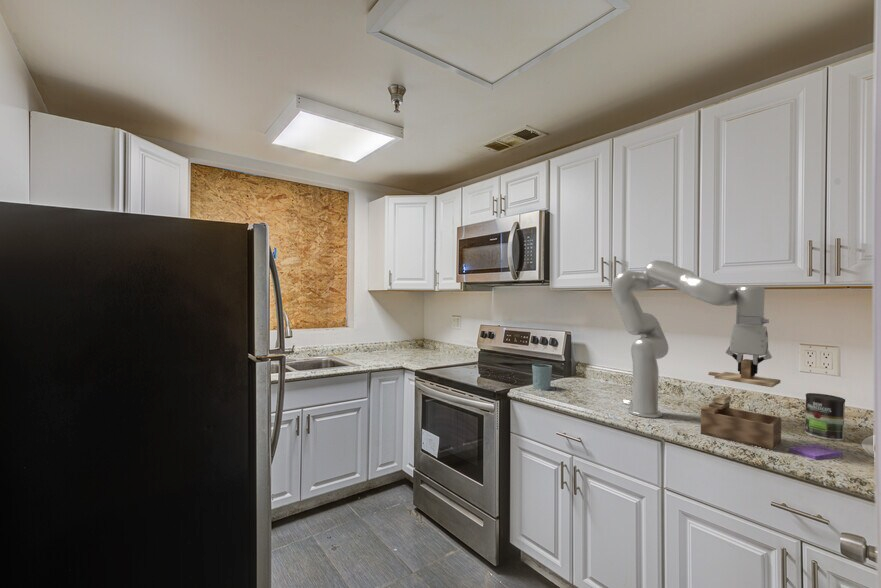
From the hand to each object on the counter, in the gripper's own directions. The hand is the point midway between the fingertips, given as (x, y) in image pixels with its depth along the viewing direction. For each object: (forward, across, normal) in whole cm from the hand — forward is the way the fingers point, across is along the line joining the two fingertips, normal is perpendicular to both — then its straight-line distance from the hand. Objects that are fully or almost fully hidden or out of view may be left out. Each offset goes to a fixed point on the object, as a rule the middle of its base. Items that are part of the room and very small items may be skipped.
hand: (747, 374), depth 139 cm
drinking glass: (+24, +87, -7) cm, 91 cm away
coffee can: (+22, -18, -27) cm, 39 cm away
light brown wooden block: (+13, +9, -9) cm, 18 cm away
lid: (+2, +2, 0) cm, 3 cm away
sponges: (+23, -18, -1) cm, 29 cm away
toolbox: (+22, +1, -3) cm, 22 cm away
